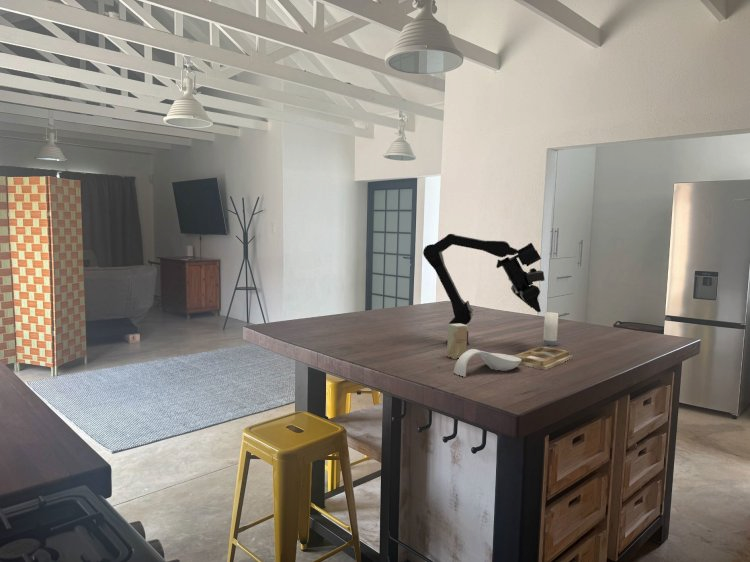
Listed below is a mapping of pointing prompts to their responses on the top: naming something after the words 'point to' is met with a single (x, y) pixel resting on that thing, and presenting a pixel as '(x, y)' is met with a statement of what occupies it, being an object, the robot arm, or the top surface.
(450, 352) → the box
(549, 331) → the sleeve
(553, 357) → the bay board
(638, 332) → the top surface
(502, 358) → the spoon rest
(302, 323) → the top surface
